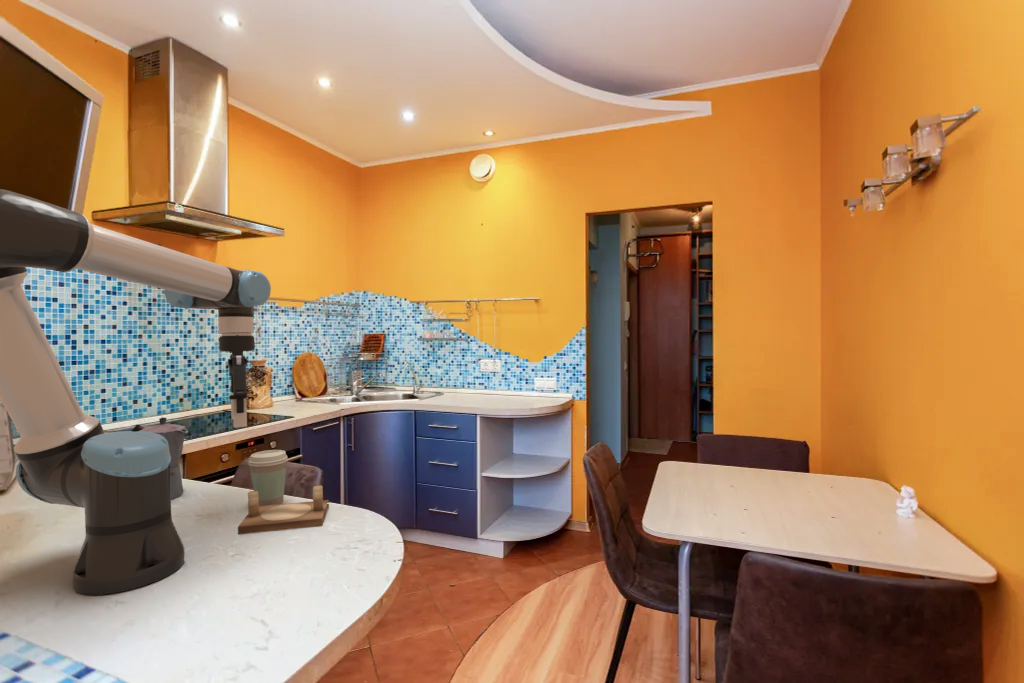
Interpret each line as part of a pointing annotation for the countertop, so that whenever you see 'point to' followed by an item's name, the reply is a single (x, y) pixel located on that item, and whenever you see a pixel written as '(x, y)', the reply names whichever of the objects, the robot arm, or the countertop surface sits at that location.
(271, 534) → the countertop surface
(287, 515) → the rest board
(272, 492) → the coffee cup
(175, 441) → the moka pot
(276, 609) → the countertop surface
